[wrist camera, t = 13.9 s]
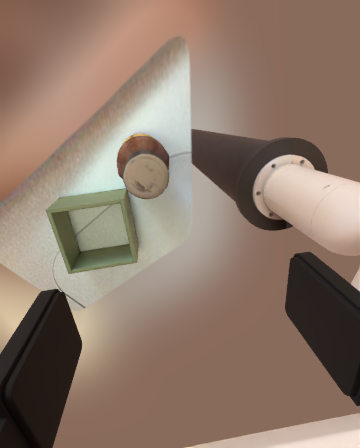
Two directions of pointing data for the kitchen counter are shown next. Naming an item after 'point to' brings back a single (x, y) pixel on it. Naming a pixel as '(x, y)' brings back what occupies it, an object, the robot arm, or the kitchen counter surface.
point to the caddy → (67, 238)
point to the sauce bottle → (143, 166)
